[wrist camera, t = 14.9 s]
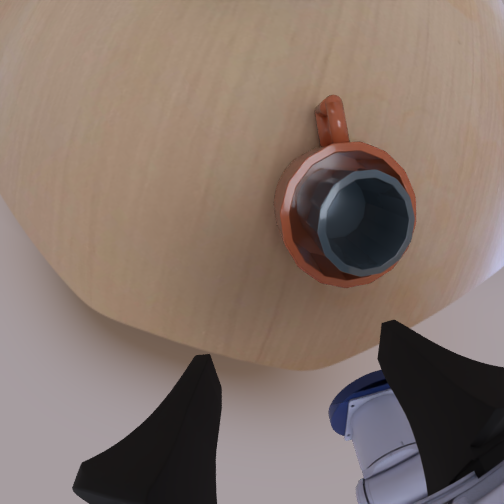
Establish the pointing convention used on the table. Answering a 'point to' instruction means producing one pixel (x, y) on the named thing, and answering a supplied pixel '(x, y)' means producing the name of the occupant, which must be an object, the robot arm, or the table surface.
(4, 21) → the table surface
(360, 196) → the grey handleless cup
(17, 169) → the table surface
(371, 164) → the mug
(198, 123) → the table surface
